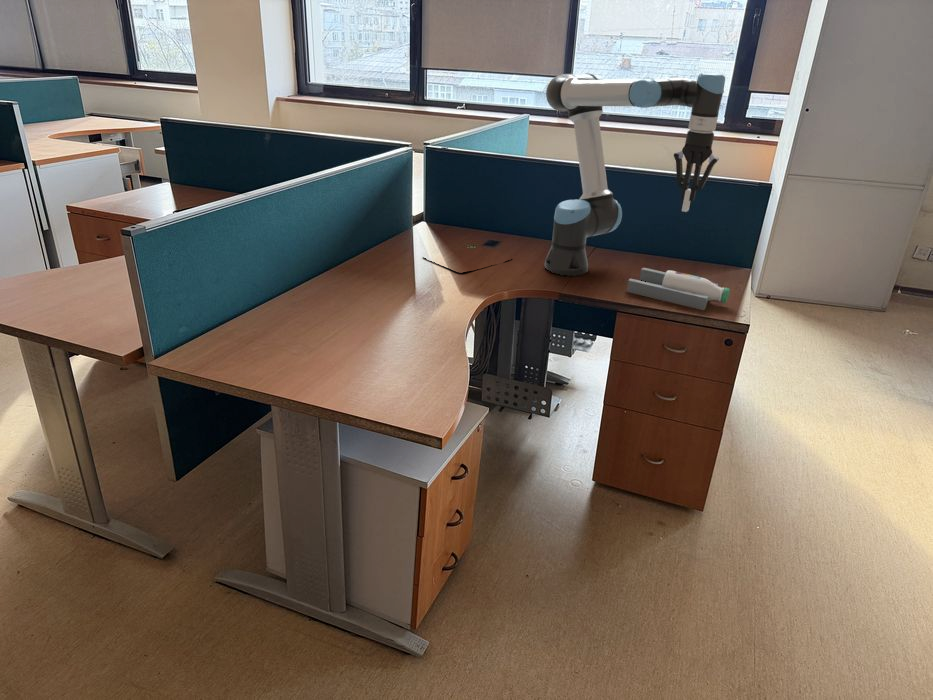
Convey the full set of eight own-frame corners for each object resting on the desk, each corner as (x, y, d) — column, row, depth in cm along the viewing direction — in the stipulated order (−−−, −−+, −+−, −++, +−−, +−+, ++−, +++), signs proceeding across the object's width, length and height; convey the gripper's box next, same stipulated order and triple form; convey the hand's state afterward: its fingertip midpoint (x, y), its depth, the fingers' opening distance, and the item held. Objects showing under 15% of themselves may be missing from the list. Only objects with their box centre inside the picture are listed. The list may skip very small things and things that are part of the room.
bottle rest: (626, 291, 212) (628, 280, 210) (641, 278, 224) (643, 267, 222) (704, 310, 201) (706, 298, 199) (715, 295, 212) (718, 284, 210)
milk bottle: (660, 297, 212) (723, 312, 204) (661, 282, 206) (726, 297, 198) (667, 280, 216) (730, 294, 207) (668, 264, 210) (733, 278, 201)
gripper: (675, 129, 189) (660, 209, 200) (721, 135, 183) (703, 217, 194) (682, 126, 195) (667, 204, 206) (727, 132, 189) (709, 211, 200)
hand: (685, 210), depth 200 cm, fingers closed
